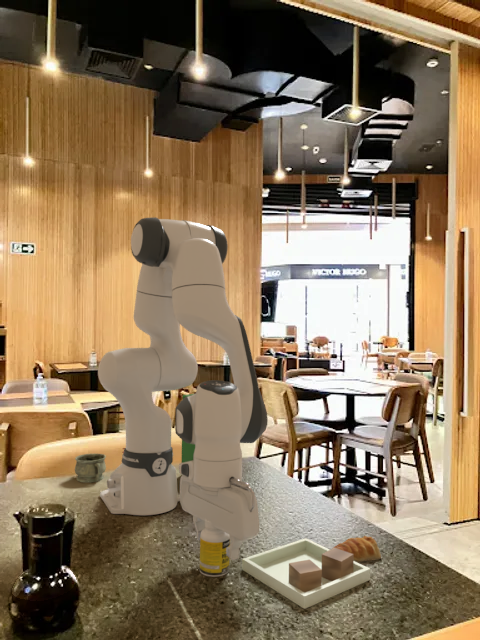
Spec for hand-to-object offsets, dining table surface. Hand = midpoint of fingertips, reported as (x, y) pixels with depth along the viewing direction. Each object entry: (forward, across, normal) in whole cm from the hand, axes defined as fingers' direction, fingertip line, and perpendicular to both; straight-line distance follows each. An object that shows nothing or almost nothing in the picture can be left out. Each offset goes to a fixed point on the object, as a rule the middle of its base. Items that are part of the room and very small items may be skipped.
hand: (217, 548), depth 93 cm
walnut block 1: (+4, -15, -8) cm, 17 cm away
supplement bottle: (+5, 0, 0) cm, 5 cm away
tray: (+4, -11, -12) cm, 16 cm away
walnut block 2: (+4, -15, -16) cm, 22 cm away
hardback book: (+4, +47, -30) cm, 56 cm away
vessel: (+4, +68, -3) cm, 69 cm away
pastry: (+5, -11, -26) cm, 28 cm away
